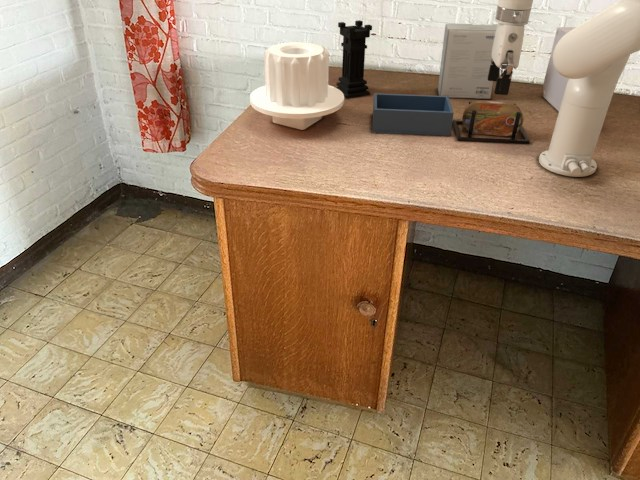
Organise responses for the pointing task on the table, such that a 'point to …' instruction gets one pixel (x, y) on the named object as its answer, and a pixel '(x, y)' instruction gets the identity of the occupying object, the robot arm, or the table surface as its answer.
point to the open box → (412, 114)
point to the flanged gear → (296, 85)
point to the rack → (470, 138)
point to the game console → (555, 75)
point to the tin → (492, 118)
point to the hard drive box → (466, 61)
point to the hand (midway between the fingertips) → (497, 87)
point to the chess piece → (353, 59)
